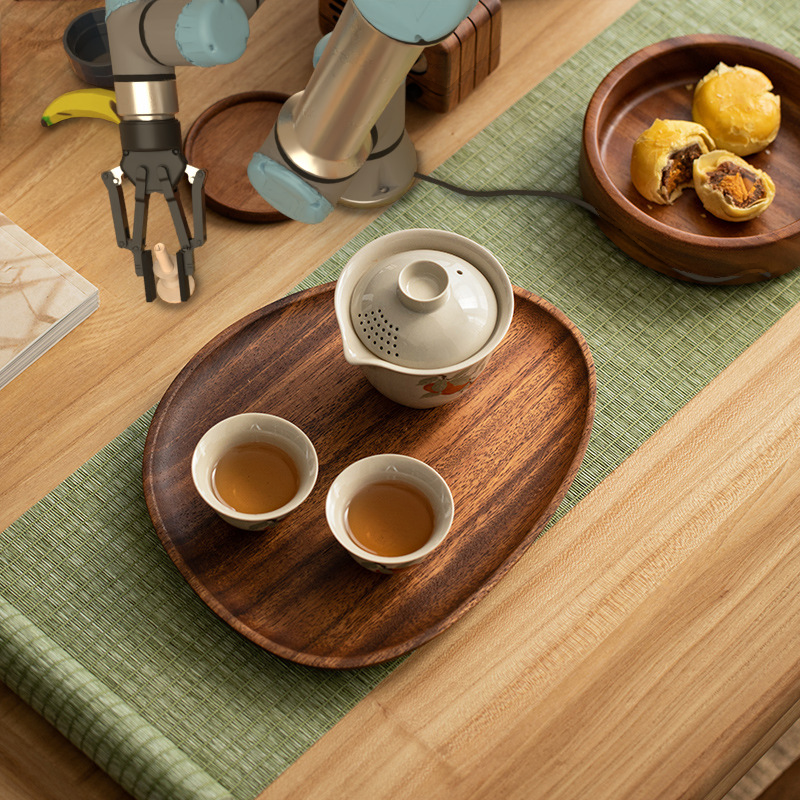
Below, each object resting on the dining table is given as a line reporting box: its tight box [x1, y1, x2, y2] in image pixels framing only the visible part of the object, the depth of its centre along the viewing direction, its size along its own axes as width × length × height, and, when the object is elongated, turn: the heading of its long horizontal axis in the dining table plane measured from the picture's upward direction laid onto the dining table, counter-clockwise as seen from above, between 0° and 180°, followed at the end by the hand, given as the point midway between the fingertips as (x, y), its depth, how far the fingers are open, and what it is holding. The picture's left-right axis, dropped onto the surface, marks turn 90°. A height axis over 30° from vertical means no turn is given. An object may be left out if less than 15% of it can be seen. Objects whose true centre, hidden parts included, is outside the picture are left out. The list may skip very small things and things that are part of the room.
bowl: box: [61, 6, 120, 88], centre depth 143 cm, size 12×12×5 cm
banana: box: [40, 87, 128, 180], centre depth 138 cm, size 5×17×15 cm
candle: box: [153, 242, 196, 304], centre depth 123 cm, size 5×5×10 cm
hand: (168, 299), depth 124 cm, fingers closed on candle, 4 cm apart
